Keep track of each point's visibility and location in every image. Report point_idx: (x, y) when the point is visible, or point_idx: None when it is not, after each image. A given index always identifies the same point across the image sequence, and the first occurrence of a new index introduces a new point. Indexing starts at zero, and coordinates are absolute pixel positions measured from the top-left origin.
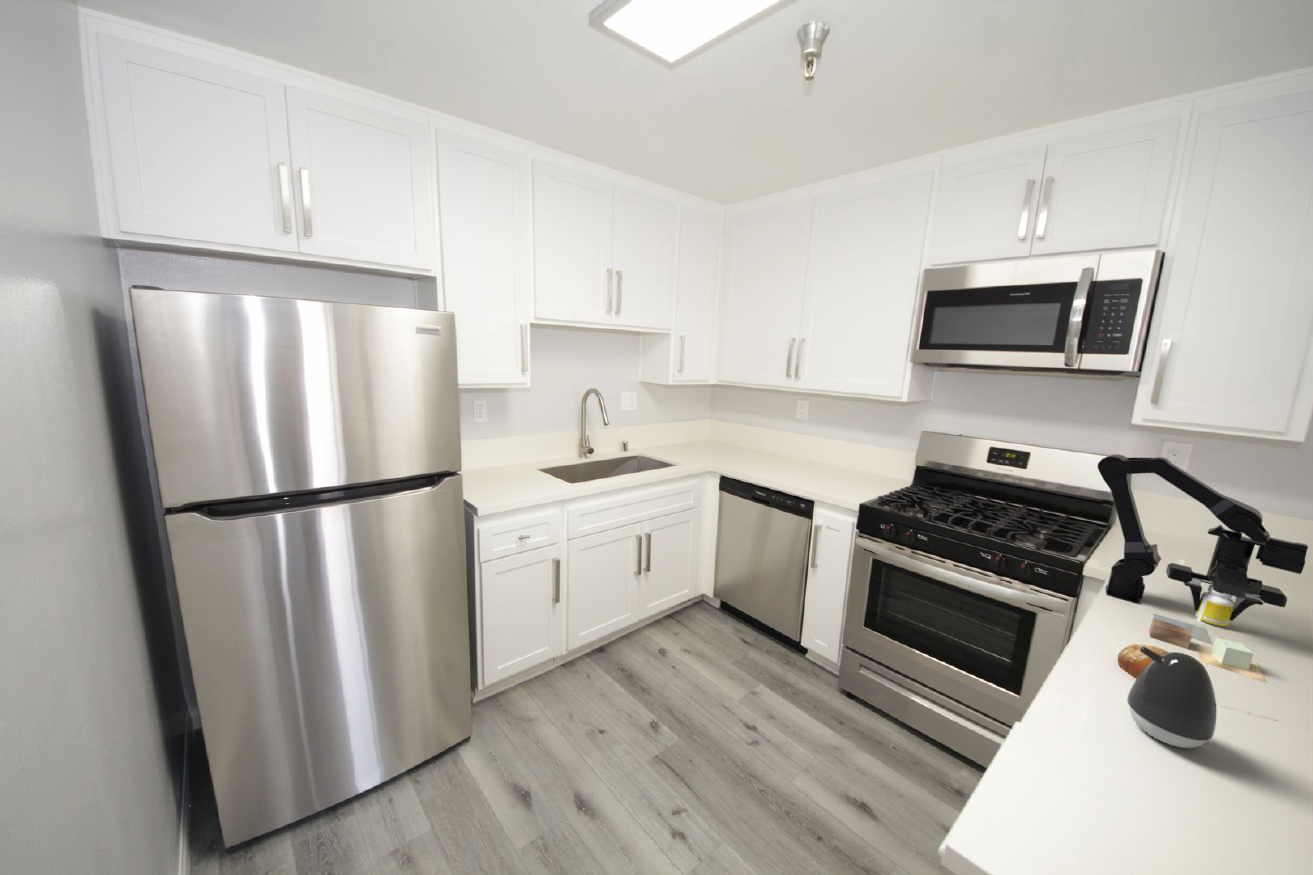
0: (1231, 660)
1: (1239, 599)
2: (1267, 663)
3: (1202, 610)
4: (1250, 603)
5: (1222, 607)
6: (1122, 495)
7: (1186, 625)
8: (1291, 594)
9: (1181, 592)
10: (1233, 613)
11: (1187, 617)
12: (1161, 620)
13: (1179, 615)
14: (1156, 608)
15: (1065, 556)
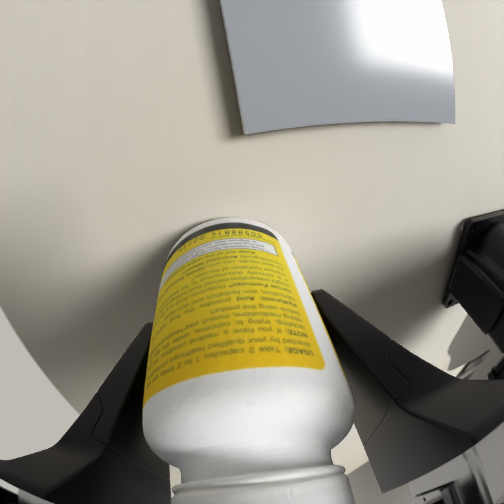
0: None
1: (134, 482)
2: (8, 10)
3: (300, 286)
4: (34, 461)
5: (195, 354)
6: None
7: (338, 72)
8: (170, 483)
9: None
10: (139, 361)
11: (317, 262)
12: (430, 41)
13: (347, 251)
14: (418, 240)
15: (475, 367)
